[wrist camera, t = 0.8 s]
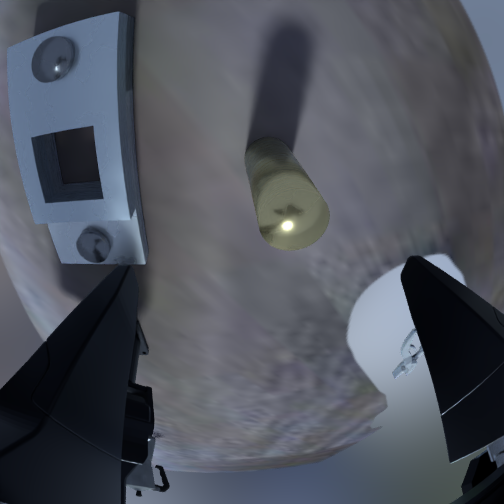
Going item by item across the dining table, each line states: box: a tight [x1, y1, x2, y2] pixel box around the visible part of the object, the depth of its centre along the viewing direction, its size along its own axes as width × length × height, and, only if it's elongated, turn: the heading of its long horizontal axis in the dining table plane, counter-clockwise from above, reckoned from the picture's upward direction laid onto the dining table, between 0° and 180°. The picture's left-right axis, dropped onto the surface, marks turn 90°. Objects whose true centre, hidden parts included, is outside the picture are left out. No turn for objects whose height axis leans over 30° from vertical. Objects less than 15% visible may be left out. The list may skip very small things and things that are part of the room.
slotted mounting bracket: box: [7, 11, 149, 264], centre depth 15 cm, size 18×8×4 cm, turn 175°
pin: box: [245, 137, 330, 251], centre depth 16 cm, size 3×3×8 cm
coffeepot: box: [126, 437, 169, 497], centre depth 53 cm, size 15×9×18 cm, turn 50°
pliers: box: [392, 328, 424, 378], centre depth 41 cm, size 10×2×15 cm
